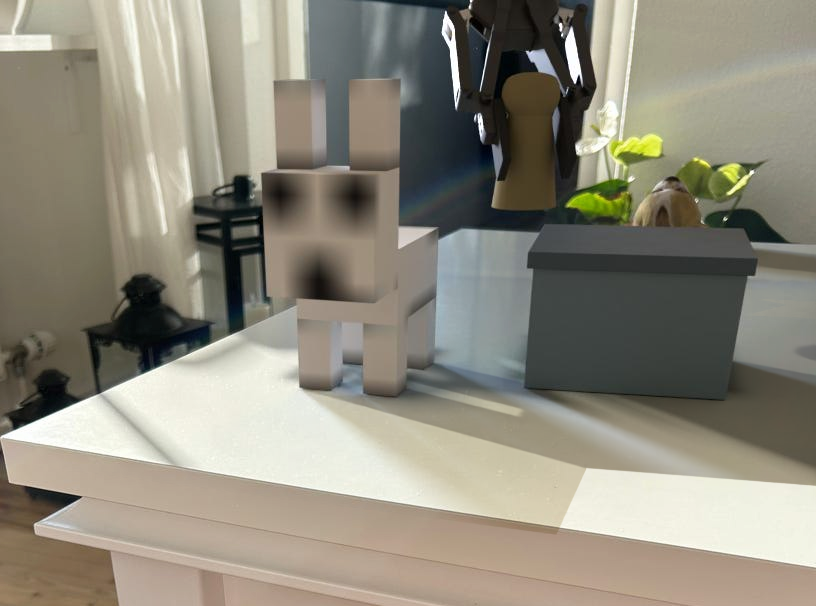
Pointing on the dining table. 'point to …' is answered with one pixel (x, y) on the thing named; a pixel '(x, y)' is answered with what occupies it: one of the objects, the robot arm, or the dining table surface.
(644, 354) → the container
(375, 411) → the dining table surface
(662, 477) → the dining table surface
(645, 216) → the ceramic sculpture
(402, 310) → the blocky rabbit figurine
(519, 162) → the cork
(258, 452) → the dining table surface
